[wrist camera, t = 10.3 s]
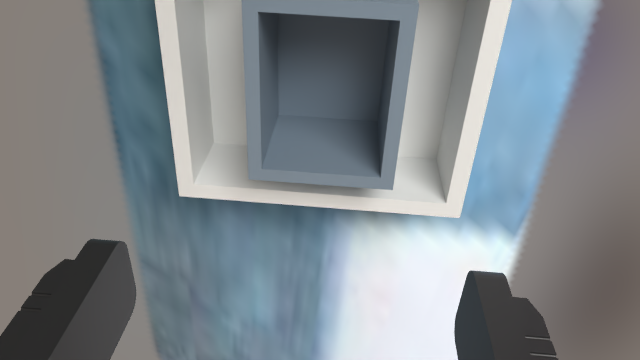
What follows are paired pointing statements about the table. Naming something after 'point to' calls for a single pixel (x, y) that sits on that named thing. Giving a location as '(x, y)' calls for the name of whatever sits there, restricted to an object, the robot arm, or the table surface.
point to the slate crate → (326, 89)
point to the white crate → (418, 120)
